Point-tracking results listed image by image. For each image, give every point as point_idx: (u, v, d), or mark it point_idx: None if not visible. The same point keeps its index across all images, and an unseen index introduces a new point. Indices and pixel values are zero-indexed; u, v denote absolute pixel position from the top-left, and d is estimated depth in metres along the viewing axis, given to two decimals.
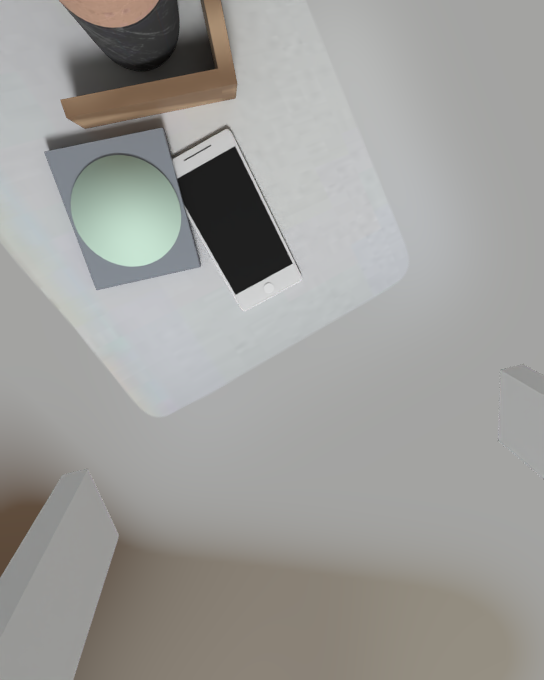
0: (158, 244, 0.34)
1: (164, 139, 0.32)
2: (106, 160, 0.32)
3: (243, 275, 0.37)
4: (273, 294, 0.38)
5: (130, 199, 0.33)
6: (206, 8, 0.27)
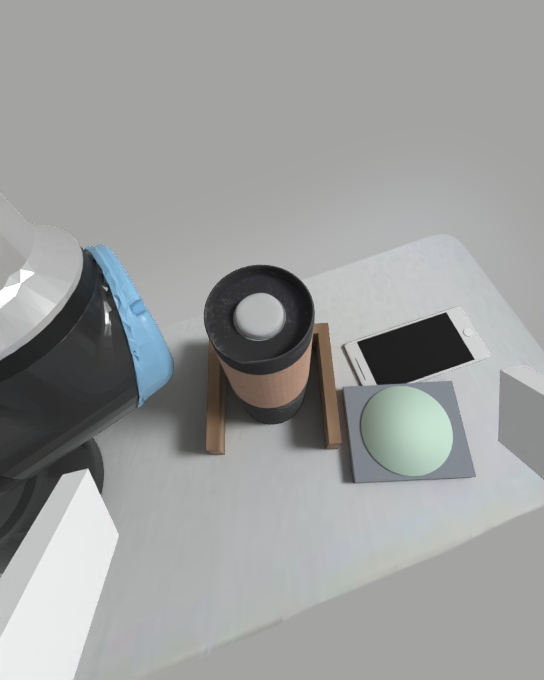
0: (432, 409, 0.40)
1: (351, 387, 0.41)
2: (364, 434, 0.39)
3: (457, 350, 0.43)
4: (473, 329, 0.44)
5: (395, 422, 0.39)
6: None
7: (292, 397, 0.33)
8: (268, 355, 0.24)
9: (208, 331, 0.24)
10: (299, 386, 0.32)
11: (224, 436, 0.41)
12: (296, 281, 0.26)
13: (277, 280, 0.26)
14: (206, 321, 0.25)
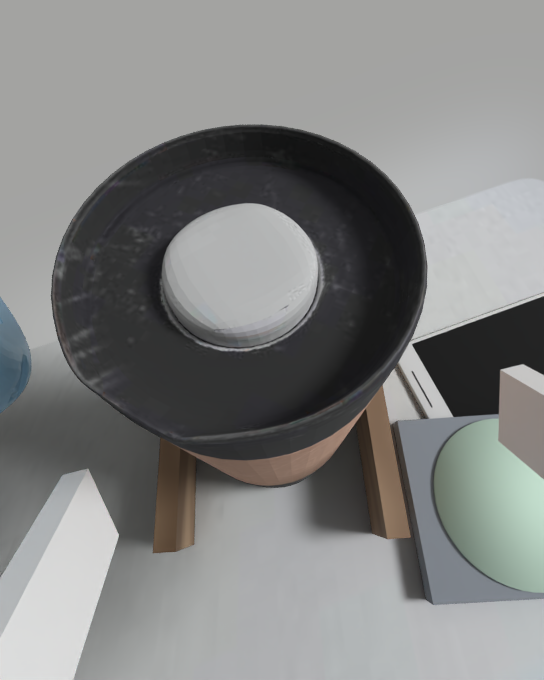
0: None
1: (411, 421, 0.24)
2: (441, 508, 0.22)
3: None
4: None
5: (494, 486, 0.22)
6: None
7: (321, 465, 0.15)
8: (273, 401, 0.07)
9: (60, 322, 0.07)
10: (338, 446, 0.14)
11: (193, 511, 0.23)
12: (354, 169, 0.08)
13: (292, 176, 0.09)
14: (60, 289, 0.07)
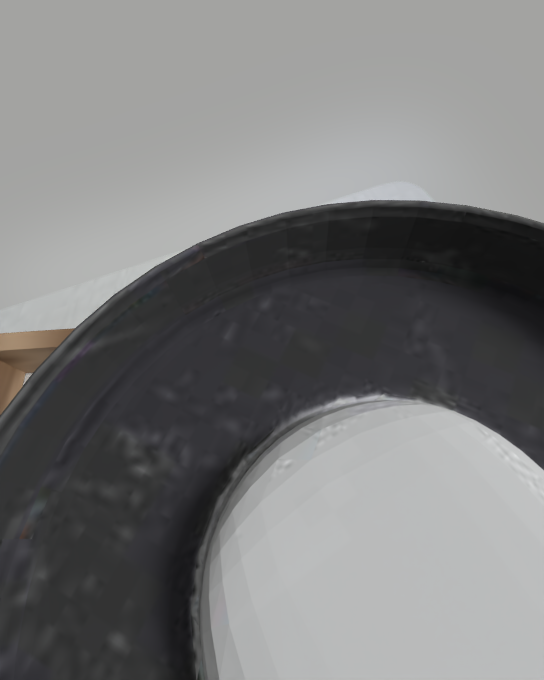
0: None
1: None
2: None
3: None
4: None
5: None
6: None
7: None
8: None
9: None
10: None
11: None
12: None
13: (466, 303, 0.04)
14: None
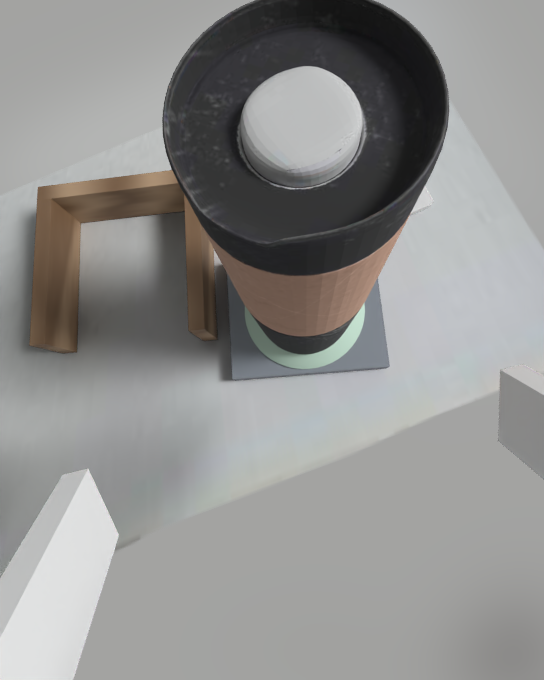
0: None
1: None
2: (248, 319, 0.30)
3: None
4: None
5: None
6: (138, 187, 0.29)
7: (349, 317, 0.19)
8: (330, 222, 0.10)
9: (176, 167, 0.10)
10: (365, 297, 0.17)
11: (75, 330, 0.32)
12: (393, 29, 0.10)
13: (337, 40, 0.11)
14: (170, 143, 0.10)
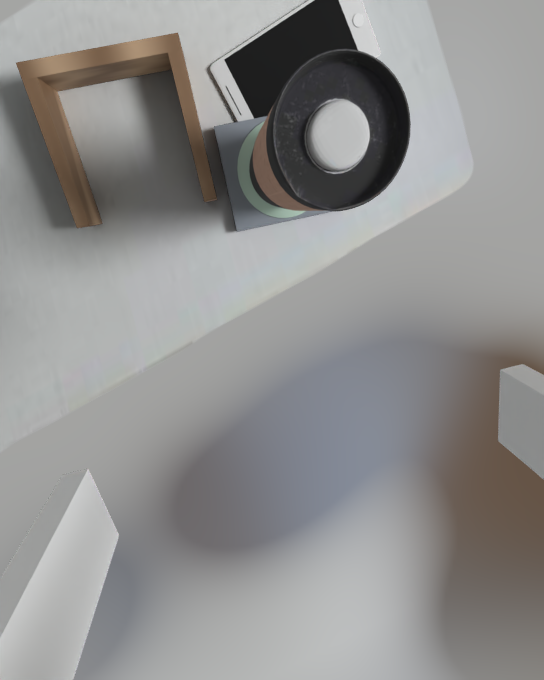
0: None
1: (223, 125, 0.36)
2: (241, 181, 0.38)
3: None
4: (365, 14, 0.35)
5: None
6: (123, 59, 0.31)
7: None
8: (353, 191, 0.21)
9: (284, 174, 0.19)
10: None
11: (95, 205, 0.38)
12: (387, 75, 0.19)
13: (355, 71, 0.19)
14: (278, 159, 0.19)
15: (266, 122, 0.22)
